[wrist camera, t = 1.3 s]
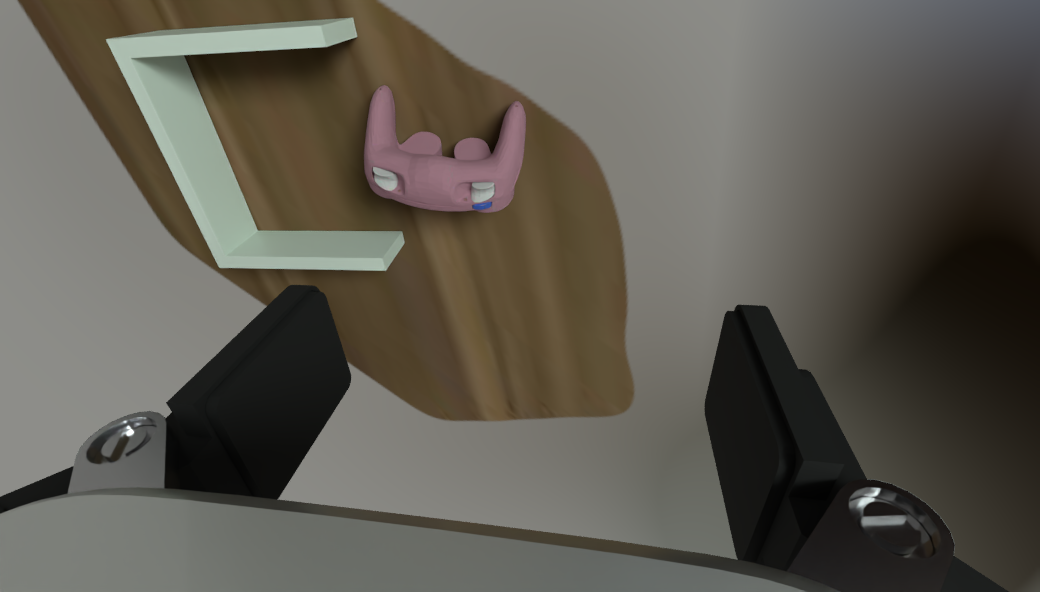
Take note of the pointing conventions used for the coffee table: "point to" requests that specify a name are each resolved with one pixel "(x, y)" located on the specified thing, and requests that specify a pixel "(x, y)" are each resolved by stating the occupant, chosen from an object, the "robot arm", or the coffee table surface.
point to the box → (201, 158)
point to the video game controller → (442, 163)
